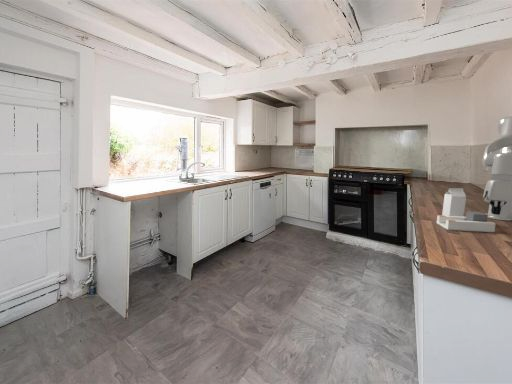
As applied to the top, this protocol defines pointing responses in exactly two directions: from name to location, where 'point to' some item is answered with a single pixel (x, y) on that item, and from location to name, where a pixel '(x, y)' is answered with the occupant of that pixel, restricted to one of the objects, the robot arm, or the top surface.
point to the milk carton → (454, 202)
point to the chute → (464, 224)
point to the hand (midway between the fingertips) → (495, 213)
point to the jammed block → (476, 216)
